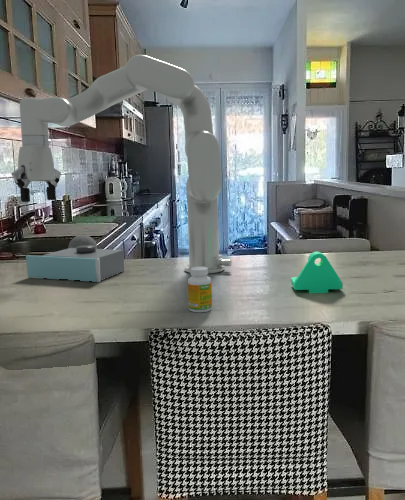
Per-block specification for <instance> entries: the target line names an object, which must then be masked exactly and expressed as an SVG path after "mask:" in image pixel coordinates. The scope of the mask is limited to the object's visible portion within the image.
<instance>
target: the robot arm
mask: <svg viewBox="0 0 405 500" xmlns="http://www.w3.org/2000/svg"><path fill="white" fill-rule="evenodd" d="M148 90H149V91H152V92H154V93H158V94H160V95H162V96H165V98H166V100H168V102H170V103H172V104H173V105H175V106H178V108H179V109H180V110H181V112H182V117H183V126H184V141H185V142H184V153H185V156H186V158H187V159H186V160H187V175H188V178H187V180H186V185H185V186H186V187H185V189H186V191H185V192H186V203H187V228H188V229H187V232H188V233H187V234H188V235H187V236H188V258H189V259H188V262H189V264H187V265H185V266H184V271H185V272H186V273H189V274H191V273H190V268H192V267H207V268H208V274H207V275H209V274H215V273H220V272H223V271H224V270H225V267H232V264H233V263H232V260H231V259H229V258H228V259H227V258H226V259H224V258H223V254H220V240H219V238H220V236H219V235H220V233H219V232H220V231H219V230H220V229H219V202H218V200H219V199H218V196H219V195H220V192H221V191H222V184H223V183H222V181H223V180H222V163H221V149H220V144H219V141H218V139H217V138H216V136H215V135H214V128H213V127H214V126H213V119H212V117H213V116H212V111H211V110H212V109H211V105H210V102H209V100H208V98H207V96H206V94H205V93H204V91H202V89H200V87H199V86H197V85H196V84H195V80H194V78H193V76H192V74H191V73H189V71H188V70H186V69H184V68H182V67H178V66H176V65H173V64H170V63H168V62H166V61H162V60H159V59H158V58H157V59H156V58H153V57H151V56H148V55H145V54H137V55H133V56H130V58H129V59H128V61H127V62H126V64H125V65H124V66H122V67H119V68H118V69H115V70H113V71H110V72H108V73H106V74H103V75H101V76H99V77H97V78H96V79H95V80H94V81H93V82H92V83H91V85H90V86H89V87H88V88H87V89H85V90H84V91H82V92H80V93H78V94H77V95H75V96H72V97H70V98H68V99H65V98H63V97H59V96H58V97H57V96H54V97H47V98H46V97H45V98H36V97H25V98H22V99H21V100H20V101H19V115H20V116H19V118H20V131H21V132H20V133H21V146H19V150H18V157H17V159H18V161H17V169H16V170H14V171H12V172H11V176H12V178H13V179H12V180H14V183H15V184H16V185H17V187H18V189H19V192H20V201H21V202H22V203H30V202H31V192H30V191H31V189H30V188H28V187H29V186H30V184H31V182H45V183H46V185H47V186H46V200H48V201H56V199H57V196H56V187H58V184H59V182H60V178H61V175H62V173H61V171H59V169H56V168H55V166H54V164H55V163H54V158H53V153H52V148H51V147H50V145H51V139H50V137H49V123H50V124H54V125H57V126H61V127H63V128H66V127H71V126H73V125H75V124H78V123H80V122H82V121H85V120H87V119H90V118H91V117H93V116H95V115H97V114H98V113H101V112H102V111H104V110H107V109H108V108H110V107H112V106H114V105H117V104H119V103H120V102H123V101H125V100H128V99H129V98H131V97H134V96H136V95H139V94H142V93H143V92H145V91H148Z"/></svg>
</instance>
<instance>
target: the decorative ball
mask: <svg viewBox="0 0 405 500" xmlns="http://www.w3.org/2000/svg"><path fill="white" fill-rule="evenodd" d="M84 245H94V246H96V249H98V245H97V242H96V241H95V239H94V238H92V237H91V236H89V235H86V234H79V235H76V236H74V237H73V238H72V239H71V240H70V241H69V243H68V248H76V247H78V246H84ZM68 248H67V249H68Z"/></svg>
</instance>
